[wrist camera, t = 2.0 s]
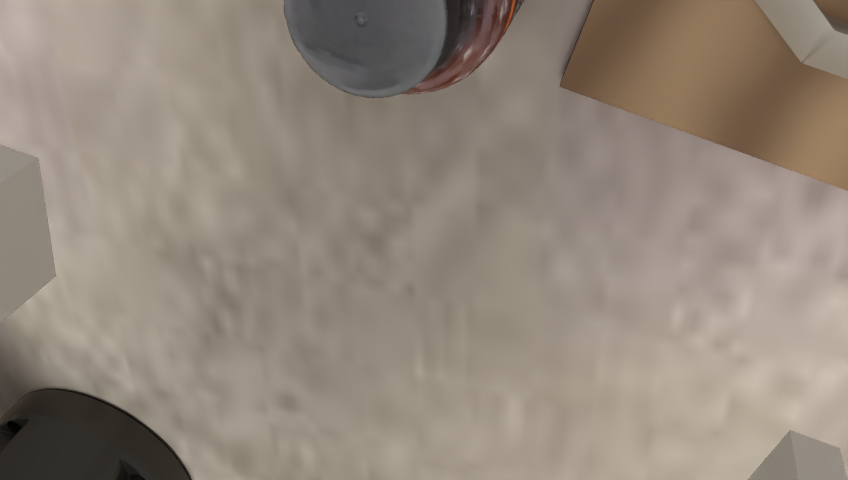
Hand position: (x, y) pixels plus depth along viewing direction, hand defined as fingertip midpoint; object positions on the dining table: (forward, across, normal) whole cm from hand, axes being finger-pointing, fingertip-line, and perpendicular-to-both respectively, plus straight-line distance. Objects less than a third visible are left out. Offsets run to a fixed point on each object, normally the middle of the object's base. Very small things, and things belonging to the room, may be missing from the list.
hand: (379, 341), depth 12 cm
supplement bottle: (+18, -3, +3) cm, 19 cm away
